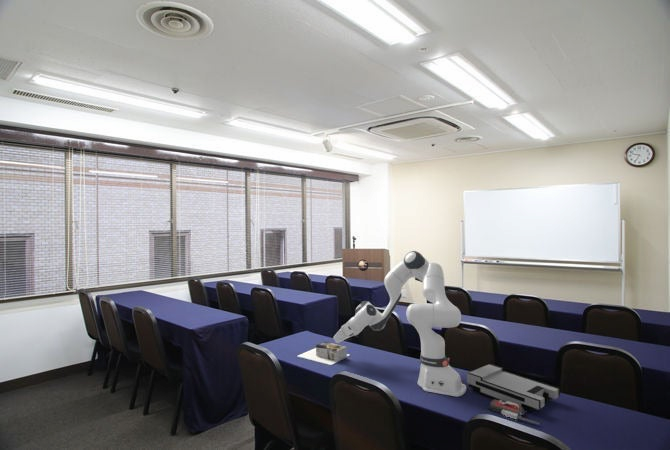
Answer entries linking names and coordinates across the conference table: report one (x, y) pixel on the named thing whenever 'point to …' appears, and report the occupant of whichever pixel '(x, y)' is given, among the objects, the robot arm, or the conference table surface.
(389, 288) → the robot arm
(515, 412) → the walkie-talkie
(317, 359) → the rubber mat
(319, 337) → the conference table surface
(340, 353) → the coffee box
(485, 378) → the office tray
